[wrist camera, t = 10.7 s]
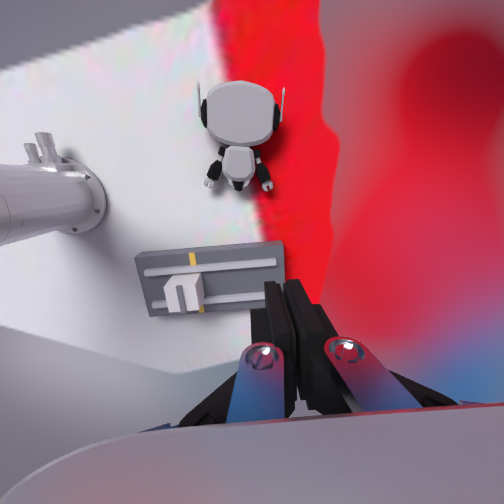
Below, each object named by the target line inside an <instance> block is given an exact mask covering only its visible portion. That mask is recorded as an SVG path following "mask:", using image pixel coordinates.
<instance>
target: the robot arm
mask: <svg viewBox="0 0 504 504" xmlns="http://www.w3.org/2000/svg"><path fill="white" fill-rule="evenodd" d="M35 136H36V139H37V142H38V145H39V147H40V148H41V151H42V154H43V156H41V157H40V158H41V160H40V158H39V155H38V150H37V147H36V144H33V143H25V144H24V147H25V150H26V153H27V154H28V157H29V159H30V160H29V161H28V165H5V164H0V246H3V245H6V244H10V243H13V242H17V241H21V240H24V239H28V238H31V237H35V236H38V235H42V234H45V233H49V232H52V231H56V230H58V231H60V232H64V233H70V234H77V233H83V232H86V231H89V230H91V229H93V228H94V227H95V226H97V225H98V224H99V223H100V221H101V220H102V218H103V216H104V214H105V209H106V198H105V193H104V190H103V187H102V185H101V184H100V182H99V180H98V179H97V177H96V176H95V175H94V174H93V173H92V172H91V171H90V170H89V169H88V168H87V167H86V166H84V165H83V164H81V163H79V162H77V161H75V160H73V159H69V158H65V157H61V156H57V153H56V149H55V144H54V141H53V138H52V134H51V133H44V132H39V133H35ZM99 210H100V211H99ZM264 293H265V308H260V309H250V313H251V340H252V345H250V346H248V347H247V348H246V349H245V350H244V351H243V352H242V355H241V358H240V362H239V367H238V371H237V372H236V373H235V374H234V375H233V376H231V377H230V378H229V379H228V380H227V381H226V382H224V383H223V384H222V385H221V386H220V387H218V388H217V389H216V390H215V391H214V392H213V393H211V394H210V395H209V396H208V397H207V398H206V399H204V400H203V401H202V402H201V403H200V404H199V405H197V406H196V407H195V408H194V409H193V410H192V411H190V412H189V413H188V414H187V415H186V416H185V417H184V418H183V419H182V420H181V421H180V423H179V425H175V426H172V427H171V425H170V423H167V424H164V425H161V426H158V427H154V428H151V429H148V430H145V431H141V432H138V433H133V434H128V435H123V436H119V437H115V438H110V439H107V440H103V441H100V442H97V443H94V444H91V445H88V446H85V447H82V448H80V449H78V450H76V451H73V452H71V453H69V454H67V455H64V456H62V457H60V458H57V459H56V460H54V461H52V462H50V463H48V464H46V465H44V466H43V467H41V468H39V469H38V470H36V471H34V472H33V473H31V474H30V475H28V476H27V477H25V478H24V479H23V480H21V481H20V482H19V483H17V484H16V485H15V486H14V487H12V488H11V489H10V490H9V491H8V492H7V493H6V494H5V495H4V496H3V497H2V498H0V504H504V402H500V403H479V402H470V401H463V400H460V401H459V404H457V403H456V402H455V401H453V400H452V399H450V398H448V397H447V396H445V395H443V394H441V393H438V392H436V391H434V390H432V389H429V388H427V387H425V386H423V385H420V384H418V383H416V382H414V381H412V380H409V379H407V378H405V377H403V376H401V375H399V374H397V373H394V372H392V371H390V370H388V369H387V368H385V366H384V365H383V364H382V363H381V362H380V361H379V360H378V359H377V358H376V357H375V355H374V354H373V353H372V352H371V351H370V350H369V349H368V348H367V347H366V346H365V345H364V344H362V343H361V342H359V341H358V340H355V339H353V338H350V337H344V336H338V334H337V332H336V330H335V329H334V327H333V325H332V324H331V322H330V320H329V318H328V317H327V315H326V313H325V312H324V310H323V308H322V307H321V305H320V304H312V303H311V302H310V300H309V298H308V296H307V294H306V292H305V290H304V288H303V286H302V284H301V282H300V280H299V279H291V280H287V283H283V291H282V288H281V285H280V283H277V284H276V282H275V281H265V282H264ZM297 387H298V391H299V396H300V399H301V400H306V403H307V406H308V410H317V411H318V412H320V413H321V414H322V415H319V416H306V417H294V418H289V416H290V415H291V414H292V412H293V411H294V410H295V401H296V400H297Z"/></svg>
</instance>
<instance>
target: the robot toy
mask: <svg viewBox="0 0 504 504" xmlns="http://www.w3.org/2000/svg"><path fill="white" fill-rule="evenodd" d="M197 89H198V101H199V117H201V120H202V123H203V125H204V127H205V128H207V129H208V131H209V134H210V135H211V136H212V137H213V138H214V139H215V140H217V141H219V142H221V143H224V144H226V145H230V147H228V148H227V149H225V148H223V147H220V149H219V152H218V154H219V157H218V160H216V161H215V162H214V163H213V164H212V165H211V166H210V168H209V171H208V173H207V176H208V177H207V178H206V179H205V181H204V184H205V186H206V187H207V186H208V183H209V182H210V183H211V184H210V186H209V188H213V187H214V186H215V180H218V178H219V176H220V174H221V172H222V160H223V158H224V160H223V172H224V175H225V176H226V177H227V180H228V183H229V185H231V186H233V187H234V186H235V190H237V191H241V190H242V188H243V187H246V186H248V184H249V181H250V179H251V178H252V177H253V175H254V173H255V160H256V163H257V168H256V173H257V176H258V179H259V181H260V183H262V188H263V190H264V191H268V189H267V187H266V186H267V185H269V188H270V190H271V189H272V188H273V183H272V182H271V181H270V180H269V179H271V177H270V174H269V171H268V169H267V167H266V166H265V165H264V164H263V163H262V162H261V160H260V156H261V153H260V151H259V149H256V150H254V151H253V150H252V149H250V148H249V147H250V146H256V145H260V144H262V143H264V142H265V141H267V140H268V139H269V138H270V136H271V135H272V133H273V132H275V131H276V130H277V128H278V126H279V122H280V121H281V122H282V109H283V100H284V94H285V88H283V92H282V94H283V95H282V104H281V113H280V110H279V106H278V104H276V103H275V101H274V98H273V95H272V94H271V93H270V92H269V91H268V90H267V89H266V88H264V87H262V86H259V85H257V84H254V83H250V82H246V81H242V80H241V81H233V82H226V83H222V84H219V85H216V86H215V87H213V88H212V89H211V90H210V91H209V93H208V96H207V98H206V99H204V100H203V103H202V106H201V105H200V90H199V89H200V85H199V82H198V83H197ZM254 159H255V160H254ZM233 181H235V185H234V182H233ZM243 181H245V183H244V185H243Z"/></svg>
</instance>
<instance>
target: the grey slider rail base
mask: <svg viewBox="0 0 504 504" xmlns="http://www.w3.org/2000/svg"><path fill="white" fill-rule="evenodd" d="M134 258H135V262H136V266H137V270H138V274H139V277H140V281H141V285H142V289H143V293H144V297H145V301H146V305H147V309H148V313H149V317H154V316H166V315H178V314H181V312H170V313H169V310H168V306H167V301H166V297H165V292H164V288H163V287H164V286H165V285H166V283H167V282H168V281H169V279H170V278H171V277H172V275H173V274H185V273H197V272H201V275H202V281H203V287H204V293H205V296H204V299H203V302H202V304H201V307H200V310H194V311H187V312H186V313H184V314H190V313H204V312H214V311H226V310H238V309H250V308H262V307H265V293H264V282H265V281H275V282H276V284H277V283H280V285H281V288H282V291H283V283H285V269H284V246H283V243H282V241H281V240H278V241H266V242H255V243H243V244H232V245H220V246H208V247H197V248H185V249H173V250H162V251H150V252H141V253H140V254H139V255H137V256H136V257H134Z"/></svg>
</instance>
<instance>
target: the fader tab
mask: <svg viewBox="0 0 504 504" xmlns="http://www.w3.org/2000/svg"><path fill="white" fill-rule="evenodd" d="M163 288H164V292H165V297H166V301H167V306H168V310H169V313H170V312H181V314H184V313H186V312H187V311H194V310H200V307H201V304H202V302H203V299H204V296H205V293H204V287H203V281H202V275H201V272H197V273H185V274H173V275H172V277H171V278H170V279H169V281H168V282H167V283H166V285H165V286H164V287H163Z"/></svg>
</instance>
